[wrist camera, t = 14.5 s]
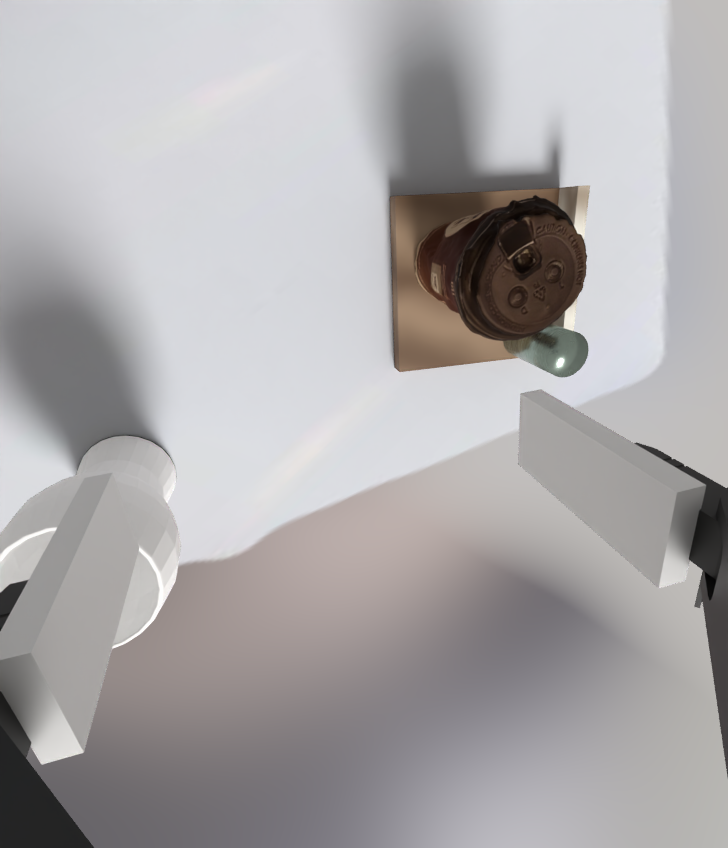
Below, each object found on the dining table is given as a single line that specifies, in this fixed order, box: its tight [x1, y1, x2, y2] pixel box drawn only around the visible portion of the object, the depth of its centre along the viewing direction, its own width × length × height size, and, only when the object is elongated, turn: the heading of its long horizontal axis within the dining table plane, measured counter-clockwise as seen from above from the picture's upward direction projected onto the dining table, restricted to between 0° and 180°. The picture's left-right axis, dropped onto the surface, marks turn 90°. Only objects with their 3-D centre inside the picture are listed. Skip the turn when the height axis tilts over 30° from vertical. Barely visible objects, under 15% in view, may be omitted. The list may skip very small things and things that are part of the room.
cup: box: [0, 436, 181, 648], centre depth 36 cm, size 11×11×15 cm
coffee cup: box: [414, 195, 587, 341], centre depth 35 cm, size 9×8×13 cm
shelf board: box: [390, 186, 590, 372], centre depth 42 cm, size 14×15×4 cm
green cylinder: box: [503, 324, 588, 377], centre depth 42 cm, size 4×4×7 cm
